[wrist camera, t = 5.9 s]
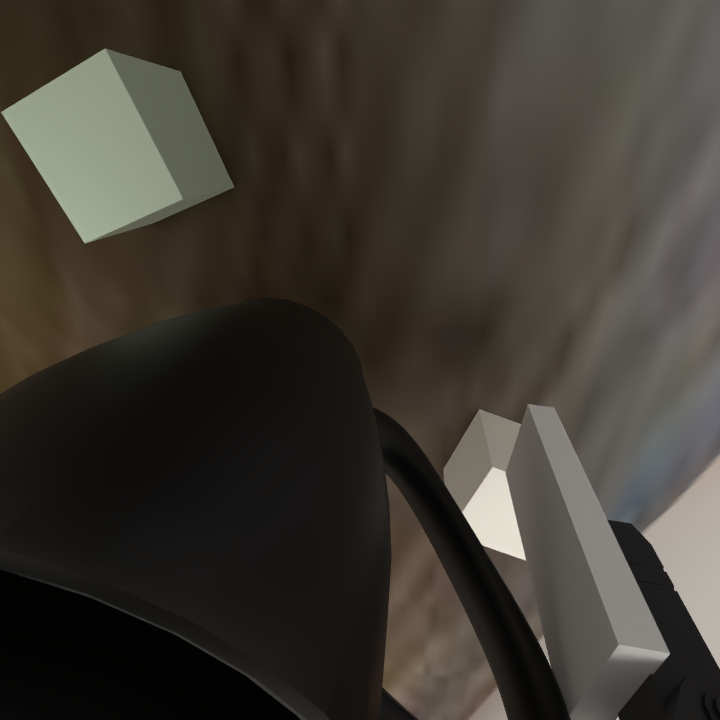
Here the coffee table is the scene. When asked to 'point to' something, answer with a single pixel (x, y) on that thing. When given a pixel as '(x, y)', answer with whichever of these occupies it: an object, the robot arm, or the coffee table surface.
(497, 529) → the cream cube
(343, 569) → the mug
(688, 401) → the coffee table surface
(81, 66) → the sage cube
